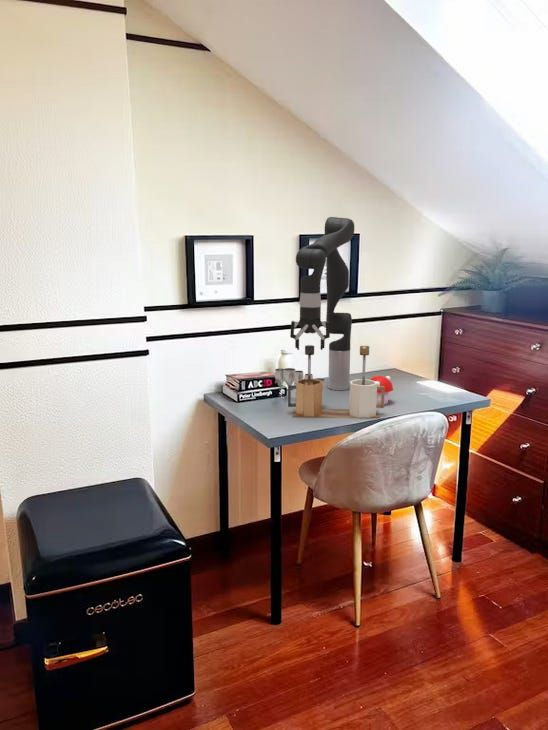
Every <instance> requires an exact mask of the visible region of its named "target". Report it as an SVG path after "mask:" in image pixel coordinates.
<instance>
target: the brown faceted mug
mask: <svg viewBox="0 0 548 730" xmlns="http://www.w3.org/2000/svg"><path fill="white" fill-rule="evenodd" d="M292 389H294V390H295V403H292V402H291V401H292V400H291V395H292V394H291V393H292V392H291V391H292ZM287 407H288V408H295V409H296V415H299V416H302V417H316V416H319V415H322V409H323V393H322V381H321V380H317V379H316V378H313V379H311V383H310V385H308V379H304V378H303V379H301V380H296V384H295V385H293V384H292V385H287Z"/></svg>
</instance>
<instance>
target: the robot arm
mask: <svg viewBox="0 0 548 730" xmlns="http://www.w3.org/2000/svg"><path fill="white" fill-rule="evenodd" d="M354 233H355V222H354V221H353V220H352V218H351V219H350V218H349V217H348V218H347V217H338V216H329V217H327V219H326V220H325V222H324V234H323V235H322V236H320V237H318V238H317V239H316V240H314V242H313V243H311V244H308V245H306V246H303V247H302V248H300V249H299V250H298V251H297V252H296V256H295V262H296V265H297V266H298V267H299V268H300V269H301V270H302V269H303V270H312V273H311V274H309V275H305V276H302V277H301V279H300V297H299V320H298V321H295V320H291V322H290V332H289V333H290V336H289V337H290V338H291V339H294V341H295V343H294V345H295V346H294V347H295V349H297V350H298V351H299V350H300V338H301V336H302V335H303V334H317V336H319V338H320V347H319V348H320V350H321V351H323V349H325V346H326V345H325V340H326V339H329V338H330V336H331V335H343V336H342V337H340V338H339V339H337V340H336V339H335V340H334V341H330V342H329V345H328V377H327V378H328V381H327V382H328V384H327V388H328V389H329V390H332V391H333V390H334V391H346V390H348V389H349V390H350V373H351V371H350V370H351V369H350V368H351V339H352V338H351V337H352V335H351V334H352V325H353V323H352V322H353V318H352V314H351V313H349V312H335V308H336V306H337V305H338V303H339V302H340V300H341V299H342V297H344V295H345V293H346V292H347V291H348V289H349V286H350V285H349V284H350V271H349V269H348V266H347V264H346V262H345V260H344V259H343V257H342V256H341V255H340V253H339V252H340V251H339V250H338V248H340V247H342V246H343V245H344V244H347V243H349V242H350V241H351V240H352V239H353V237H354ZM325 266H326V277H325V279H326V280H325V281H326V317H325V319H326V320H325V321H322V320H321V319H322V318H321V316H322V313H321V311H322V310H321V309H322V298H321V282H322V281H321V280H322V275H323V272H324V270H325V269H324V268H325ZM297 326H299V330H298V332H297V334H295V328H297ZM322 326H323V328H325V334H323V333H322V331H321V330H320V328H321V327H322Z"/></svg>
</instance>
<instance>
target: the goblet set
mask: <svg viewBox="0 0 548 730" xmlns="http://www.w3.org/2000/svg"><path fill="white" fill-rule="evenodd" d="M313 375H314V374H312V373H311V379H314V376H313ZM274 379H275V381H276V382H277V384H278V386H279V390H280V389H281V390H282V385H283V383H284V382H285V384H286V385H287V386H288V385H293V384H295V385H296V380H301V379H308V373H305V374H304V371H303V370H296V368H293V367H287V368H275V370H274ZM315 379H317V380H321V381H322V394H324V392H325V391H326V389H327V383H326V380H325V379H324V378H320V377H319V378H318V377H317V378H315ZM279 396H281V398H280V399H285V398H284V397H282V396H283V395H282V394H281V395H280V394H279Z"/></svg>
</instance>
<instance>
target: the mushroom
mask: <svg viewBox="0 0 548 730" xmlns="http://www.w3.org/2000/svg"><path fill="white" fill-rule="evenodd" d="M391 379H392V378H391V376H389V375H386V376H382V375H375V376H372V377H371V378H370V379H369V380H372V381H376V383H377V386H384V387H385V394H384V405H387V404H389V403H388V402H389V398H390V396H389V395H390V394H389V393H390V392H392V391H394V388H393V383H392V381H391ZM376 404H381V390H377V402H376Z"/></svg>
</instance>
